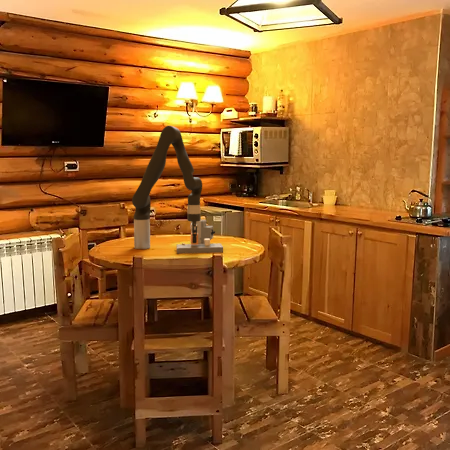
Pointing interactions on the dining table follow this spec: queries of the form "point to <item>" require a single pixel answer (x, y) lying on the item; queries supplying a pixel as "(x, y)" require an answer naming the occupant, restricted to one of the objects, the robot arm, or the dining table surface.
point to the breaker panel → (199, 248)
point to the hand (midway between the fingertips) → (194, 242)
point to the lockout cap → (192, 240)
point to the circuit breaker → (204, 231)
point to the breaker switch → (207, 242)
